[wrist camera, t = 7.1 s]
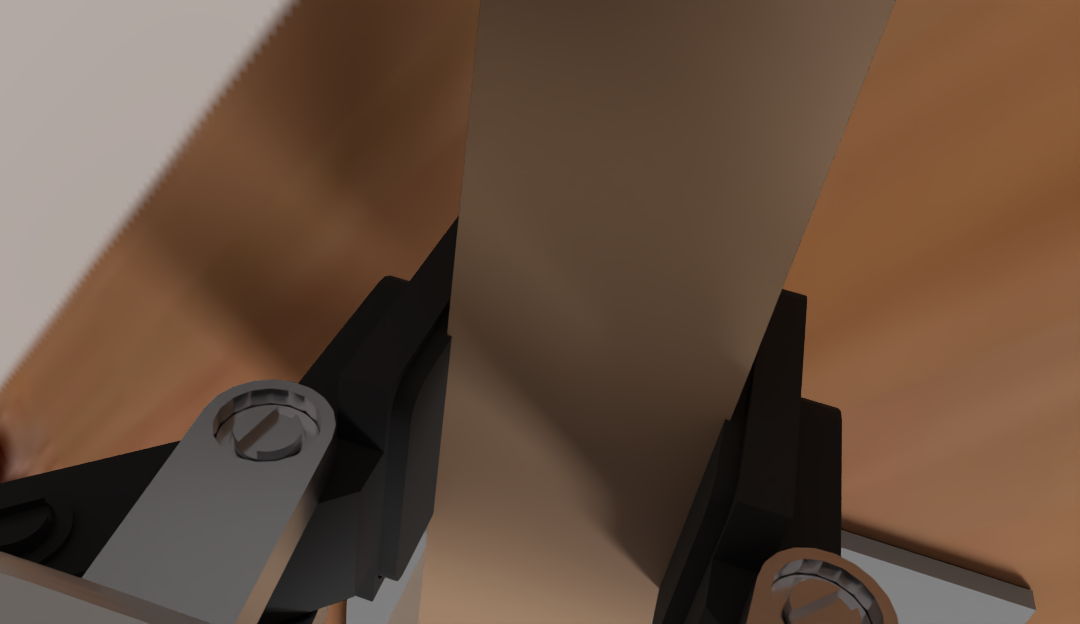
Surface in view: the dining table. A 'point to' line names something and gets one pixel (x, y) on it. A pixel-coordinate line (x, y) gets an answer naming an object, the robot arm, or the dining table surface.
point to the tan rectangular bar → (618, 280)
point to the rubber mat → (907, 578)
